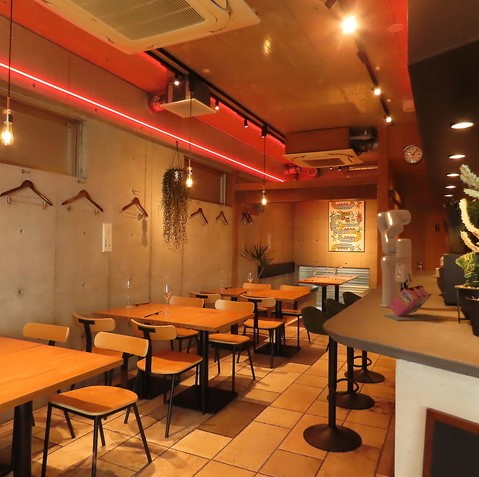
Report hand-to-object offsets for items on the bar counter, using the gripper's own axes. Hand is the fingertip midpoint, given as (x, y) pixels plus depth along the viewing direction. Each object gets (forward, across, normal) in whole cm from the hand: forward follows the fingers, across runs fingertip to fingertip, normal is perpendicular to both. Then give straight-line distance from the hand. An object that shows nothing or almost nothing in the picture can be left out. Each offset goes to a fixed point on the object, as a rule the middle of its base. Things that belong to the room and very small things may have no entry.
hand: (403, 295), depth 223 cm
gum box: (+8, 0, -1) cm, 8 cm away
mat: (+11, +9, 0) cm, 14 cm away
